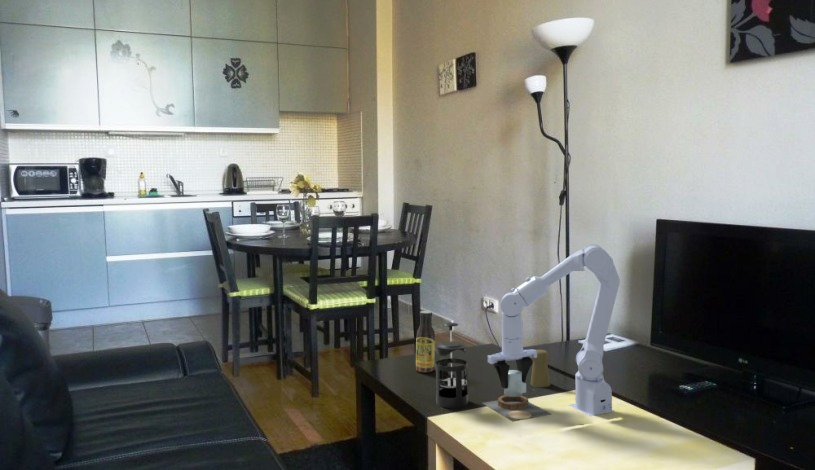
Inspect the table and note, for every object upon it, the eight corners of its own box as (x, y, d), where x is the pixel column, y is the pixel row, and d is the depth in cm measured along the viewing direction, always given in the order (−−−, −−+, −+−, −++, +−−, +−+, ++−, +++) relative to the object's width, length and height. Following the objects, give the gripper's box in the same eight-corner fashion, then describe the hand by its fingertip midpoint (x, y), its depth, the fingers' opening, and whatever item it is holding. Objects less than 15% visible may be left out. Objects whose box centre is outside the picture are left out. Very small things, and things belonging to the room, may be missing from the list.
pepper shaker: (549, 383, 196) (548, 347, 195) (551, 389, 190) (551, 352, 189) (529, 383, 196) (528, 347, 196) (531, 389, 190) (530, 352, 190)
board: (552, 416, 167) (552, 408, 167) (512, 423, 163) (512, 416, 163) (518, 398, 182) (518, 391, 182) (481, 404, 177) (481, 397, 177)
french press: (476, 407, 175) (474, 325, 174) (445, 413, 172) (443, 328, 170) (457, 395, 186) (455, 317, 184) (427, 400, 182) (425, 320, 181)
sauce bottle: (413, 372, 210) (412, 313, 209) (418, 367, 216) (417, 309, 215) (432, 374, 209) (431, 313, 207) (437, 368, 215) (436, 310, 213)
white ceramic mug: (501, 392, 176) (500, 371, 176) (515, 390, 178) (515, 369, 178) (516, 400, 170) (515, 378, 169) (531, 398, 171) (531, 376, 171)
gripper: (526, 331, 181) (527, 378, 182) (481, 337, 175) (482, 385, 176) (541, 336, 174) (541, 385, 175) (494, 342, 169) (495, 393, 170)
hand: (513, 386), depth 175 cm, fingers closed on white ceramic mug, 5 cm apart
